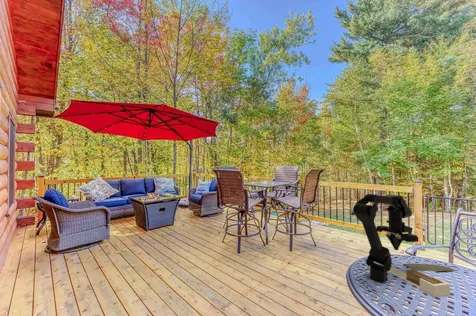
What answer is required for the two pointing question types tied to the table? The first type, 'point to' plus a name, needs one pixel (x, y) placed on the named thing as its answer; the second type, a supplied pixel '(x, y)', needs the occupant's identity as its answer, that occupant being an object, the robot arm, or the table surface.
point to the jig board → (401, 275)
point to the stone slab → (428, 267)
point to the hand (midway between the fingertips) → (396, 250)
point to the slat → (415, 276)
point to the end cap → (435, 287)
